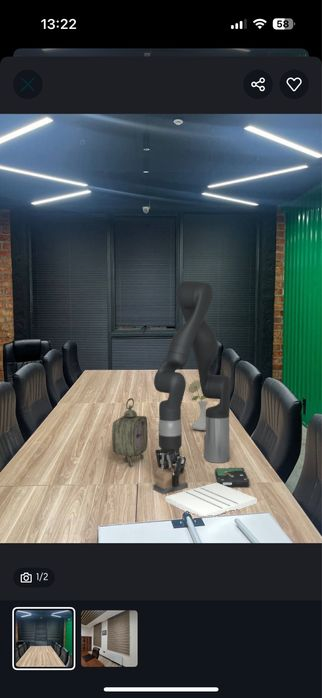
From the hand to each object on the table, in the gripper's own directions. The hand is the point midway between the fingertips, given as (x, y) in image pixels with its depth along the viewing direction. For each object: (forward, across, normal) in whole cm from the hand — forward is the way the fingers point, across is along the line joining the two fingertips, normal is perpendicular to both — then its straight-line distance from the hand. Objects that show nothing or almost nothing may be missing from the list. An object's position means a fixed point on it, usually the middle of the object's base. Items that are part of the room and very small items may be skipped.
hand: (170, 483), depth 164 cm
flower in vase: (+2, +58, -62) cm, 85 cm away
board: (+2, -17, -2) cm, 17 cm away
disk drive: (+2, -6, -22) cm, 23 cm away
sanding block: (+2, 0, 0) cm, 2 cm away
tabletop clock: (+2, +33, -5) cm, 33 cm away
